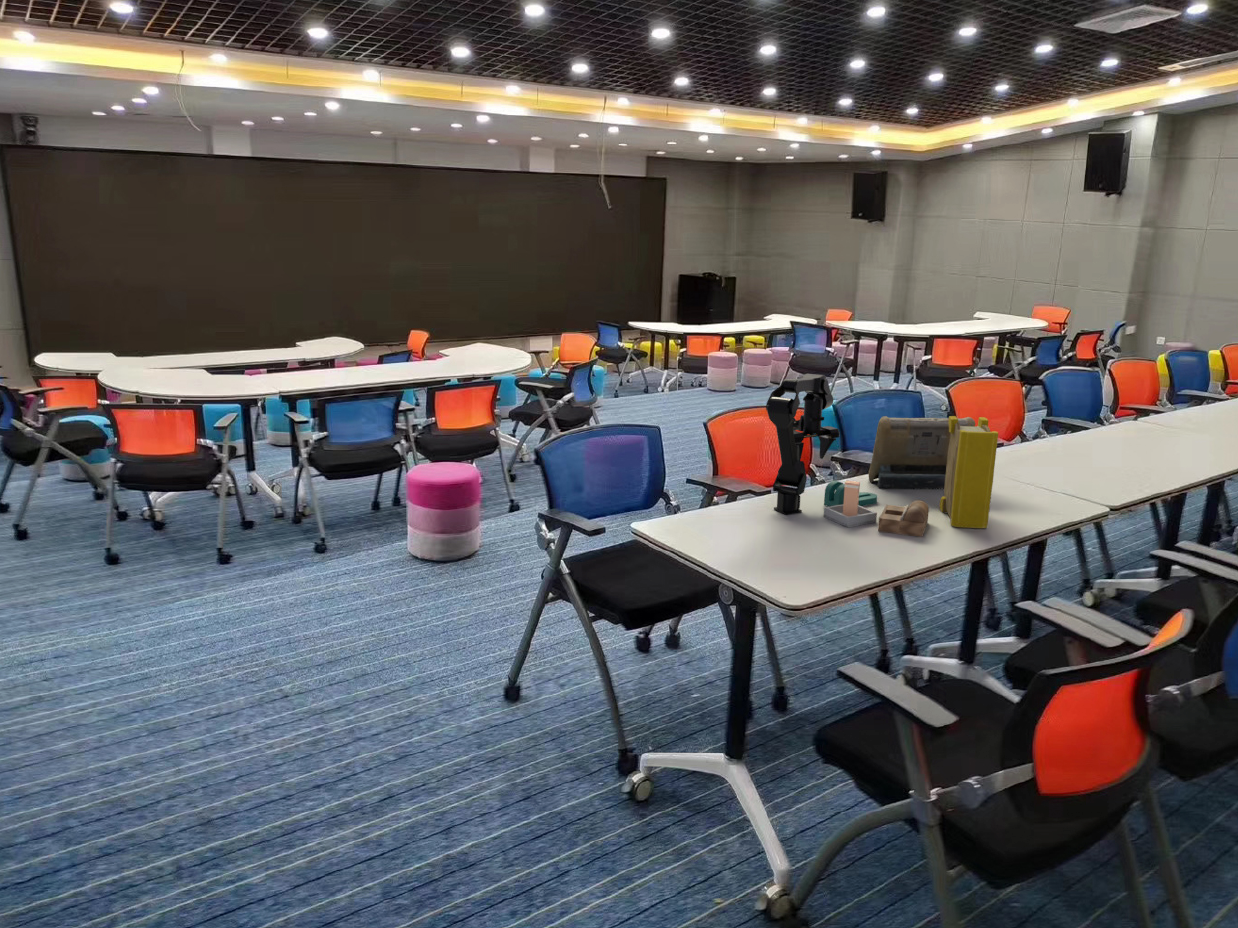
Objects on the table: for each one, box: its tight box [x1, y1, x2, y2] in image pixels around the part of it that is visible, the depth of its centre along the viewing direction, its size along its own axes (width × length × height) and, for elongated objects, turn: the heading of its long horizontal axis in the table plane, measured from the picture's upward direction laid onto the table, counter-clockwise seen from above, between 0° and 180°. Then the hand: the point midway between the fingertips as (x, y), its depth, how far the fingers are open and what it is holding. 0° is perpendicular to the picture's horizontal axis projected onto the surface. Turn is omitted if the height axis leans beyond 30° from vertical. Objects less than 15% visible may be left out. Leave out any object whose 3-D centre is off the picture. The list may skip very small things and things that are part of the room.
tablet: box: [868, 415, 976, 490], centre depth 290 cm, size 33×14×25 cm, turn 94°
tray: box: [823, 504, 878, 528], centre depth 257 cm, size 11×11×3 cm
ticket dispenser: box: [877, 500, 930, 538], centre depth 250 cm, size 12×14×7 cm
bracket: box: [823, 479, 878, 507], centre depth 272 cm, size 18×7×8 cm, turn 117°
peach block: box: [843, 480, 861, 517], centre depth 256 cm, size 4×2×11 cm, turn 65°
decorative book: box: [939, 415, 999, 529], centre depth 255 cm, size 20×11×30 cm, turn 169°
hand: (809, 460), depth 275 cm, fingers open, 9 cm apart
